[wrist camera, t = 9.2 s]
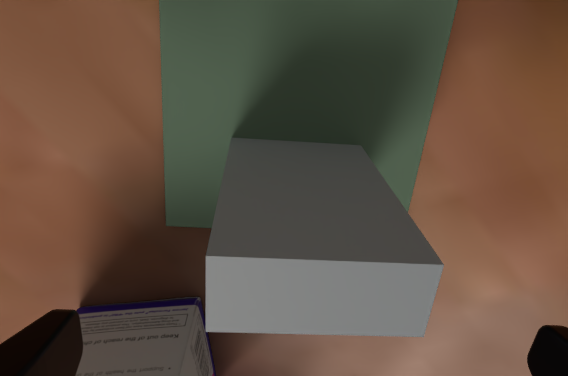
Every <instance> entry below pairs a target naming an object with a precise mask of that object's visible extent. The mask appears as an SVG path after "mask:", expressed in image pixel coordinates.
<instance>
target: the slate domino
mask: <svg viewBox="0 0 568 376" xmlns="http://www.w3.org/2000/svg"><path fill="white" fill-rule="evenodd" d="M443 266H444V264H443V263H442V261H441V260H440V259H439V257H438V256H437V254H436V253H435V251H434V250H433V248H432V247H431V246H430V244H429V243H428V241H427V240H426V238H425V237H424V235H423V234H422V233H421V231H420V230H419V228H418V227H417V225H416V224H415V223H414V221H413V220H412V218H411V217H410V215H409V214H408V212H407V211H406V210H405V208H404V207H403V205H402V204H401V202H400V201H399V199H398V198H397V197H396V195H395V194H394V192H393V191H392V189H391V188H390V187H389V185H388V184H387V182H386V181H385V179H384V178H383V176H382V175H381V174H380V172H379V171H378V169H377V168H376V166H375V165H374V163H373V162H372V161H371V159H370V158H369V156H368V155H367V153H366V152H365V150H364V149H363V148H362V146H361V145H347V144H330V143H314V142H297V141H280V140H264V139H247V138H231V141H230V145H229V150H228V155H227V159H226V164H225V169H224V173H223V178H222V183H221V187H220V192H219V197H218V201H217V206H216V211H215V215H214V220H213V225H212V229H211V234H210V238H209V243H208V248H207V252H206V332H231V333H274V334H317V335H360V336H403V337H424V334H425V330H426V327H427V323H428V320H429V316H430V312H431V309H432V305H433V302H434V298H435V295H436V291H437V288H438V284H439V281H440V277H441V273H442V270H443Z"/></svg>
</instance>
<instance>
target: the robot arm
mask: <svg viewBox="0 0 568 376" xmlns="http://www.w3.org/2000/svg"><path fill="white" fill-rule="evenodd" d="M82 353H83V338H82V331H81V324H80V317H79V314H78V312H77V311H75V310H66V309H55V310H52V311H50V312H48V313H47V314H45V315H44V316H42V317H41V318H39V319H38V320H36V321H35V322H33V323H31V324H30V325H28V326H27V327H25V328H24V329H22V330H21V331H19V332H18V333H16V334H15V335H13V336H12V337H10V338H9V339H7V340H6V341H4V342H3V343H1V344H0V376H75V375H76V372H77V369H78V366H79V363H80V360H81V357H82ZM527 363H528V367H529V370H530V372H531V374H532V376H568V328H567V327H564V326H557V325H545V326H542V327H541V328H540V329H539V330H538V332H537V335H536V337H535V339H534V341H533V344H532V346H531V348H530V351H529V353H528V357H527Z"/></svg>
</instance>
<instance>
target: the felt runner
mask: <svg viewBox="0 0 568 376" xmlns="http://www.w3.org/2000/svg"><path fill="white" fill-rule="evenodd" d="M457 3H458V0H159V11H160V44H161V77H162V110H163V144H164V177H165V210H166V226H178V227H198V228H212V225H213V220H214V215H215V211H216V206H217V201H218V197H219V192H220V187H221V183H222V178H223V173H224V169H225V164H226V159H227V155H228V150H229V145H230V141H231V138H247V139H264V140H280V141H297V142H314V143H330V144H347V145H361V146H362V148H363V149H364V150H365V152H366V153H367V155H368V156H369V158H370V159H371V161H372V162H373V163H374V165H375V166H376V168H377V169H378V171H379V172H380V174H381V175H382V176H383V178H384V179H385V181H386V182H387V184H388V185H389V187H390V188H391V189H392V191H393V192H394V194H395V195H396V197H397V198H398V199H399V201H400V202H401V204H402V205H403V207H404V208H405V210H406V211H407V212H408V210H409V205H410V201H411V197H412V193H413V189H414V184H415V180H416V176H417V172H418V167H419V163H420V159H421V155H422V151H423V146H424V142H425V138H426V134H427V129H428V125H429V121H430V117H431V112H432V108H433V104H434V100H435V96H436V91H437V87H438V83H439V79H440V74H441V70H442V66H443V62H444V58H445V53H446V49H447V45H448V41H449V36H450V32H451V28H452V24H453V20H454V15H455V11H456V7H457Z"/></svg>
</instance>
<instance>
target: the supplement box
mask: <svg viewBox="0 0 568 376" xmlns="http://www.w3.org/2000/svg"><path fill="white" fill-rule="evenodd" d="M77 312H78V314H79V317H80V324H81V331H82V338H83V353H82V357H81V360H80V363H79V366H78V369H77V372H76V375H75V376H216V373H215V367H214V362H213V356H212V351H211V346H210V342H209V336H208V332H206V322H205V318H204V313H203V309H202V304H201V299H200V297H185V298H175V299H165V300H154V301H145V302H132V303H117V304H106V305H95V306H85V307H81V308H79V309H77Z"/></svg>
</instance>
